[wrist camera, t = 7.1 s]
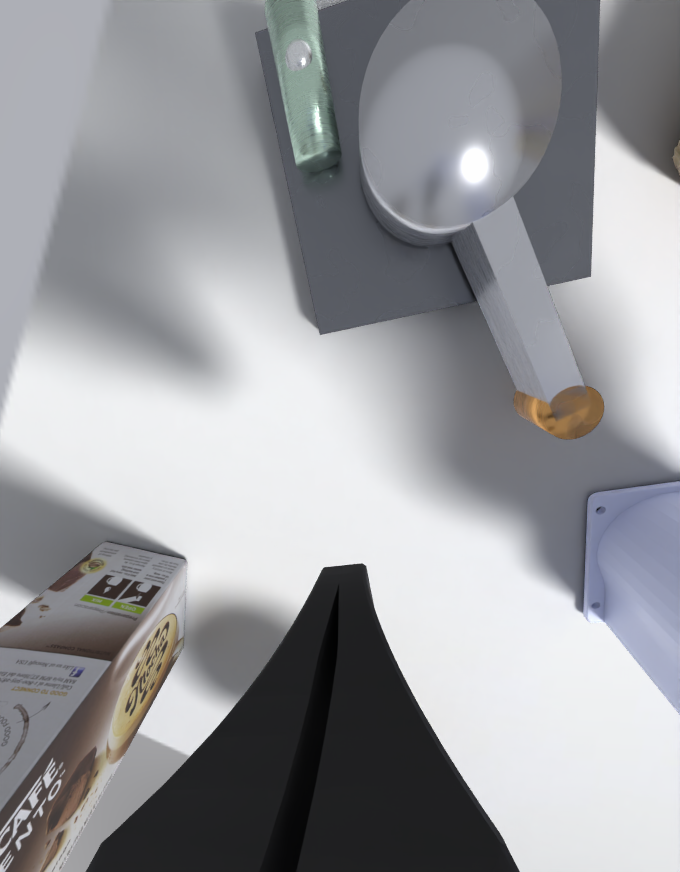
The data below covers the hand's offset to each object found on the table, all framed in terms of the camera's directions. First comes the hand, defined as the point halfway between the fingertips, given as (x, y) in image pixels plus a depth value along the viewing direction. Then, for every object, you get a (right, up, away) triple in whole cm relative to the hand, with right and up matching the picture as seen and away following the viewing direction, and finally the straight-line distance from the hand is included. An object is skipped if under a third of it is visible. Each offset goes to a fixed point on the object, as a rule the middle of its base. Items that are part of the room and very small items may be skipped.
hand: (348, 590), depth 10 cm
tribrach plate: (+4, +16, +4) cm, 17 cm away
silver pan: (+6, +12, +4) cm, 14 cm away
